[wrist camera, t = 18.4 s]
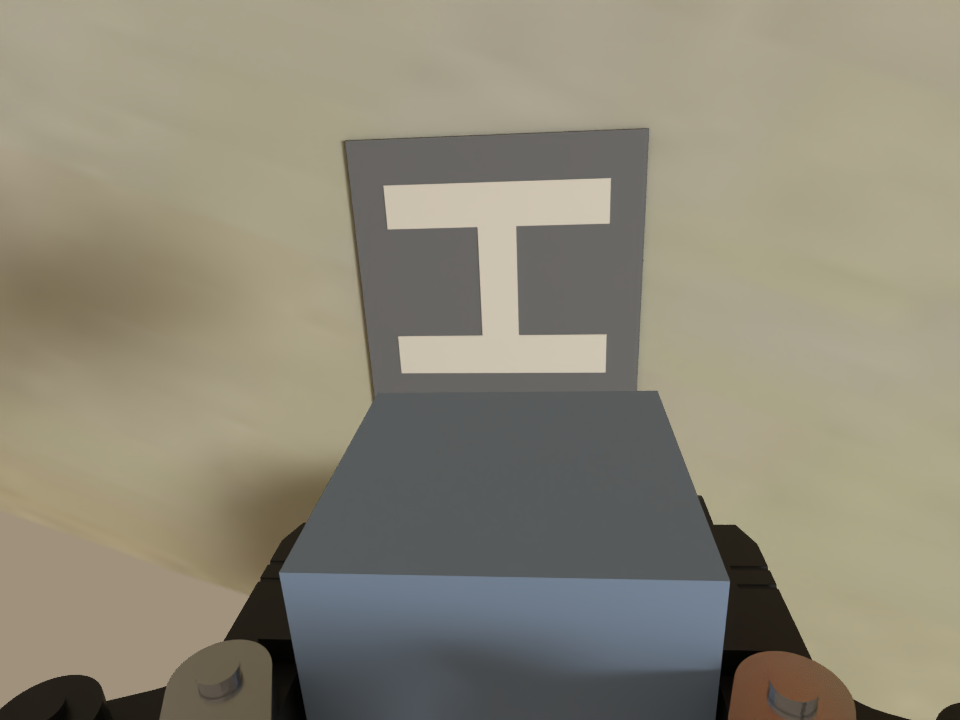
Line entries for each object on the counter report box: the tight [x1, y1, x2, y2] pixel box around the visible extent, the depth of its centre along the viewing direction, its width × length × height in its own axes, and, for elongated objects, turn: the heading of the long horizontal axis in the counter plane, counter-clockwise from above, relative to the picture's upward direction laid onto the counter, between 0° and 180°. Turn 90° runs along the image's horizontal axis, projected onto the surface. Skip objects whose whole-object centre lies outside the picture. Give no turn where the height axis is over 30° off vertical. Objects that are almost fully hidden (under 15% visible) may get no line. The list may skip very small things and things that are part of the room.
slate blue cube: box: [279, 391, 730, 720], centre depth 11 cm, size 5×5×5 cm
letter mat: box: [345, 128, 649, 397], centre depth 29 cm, size 12×12×1 cm
